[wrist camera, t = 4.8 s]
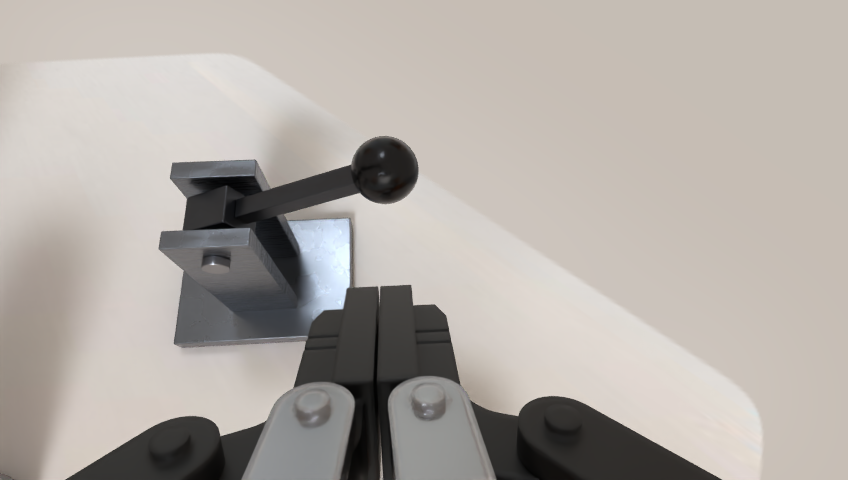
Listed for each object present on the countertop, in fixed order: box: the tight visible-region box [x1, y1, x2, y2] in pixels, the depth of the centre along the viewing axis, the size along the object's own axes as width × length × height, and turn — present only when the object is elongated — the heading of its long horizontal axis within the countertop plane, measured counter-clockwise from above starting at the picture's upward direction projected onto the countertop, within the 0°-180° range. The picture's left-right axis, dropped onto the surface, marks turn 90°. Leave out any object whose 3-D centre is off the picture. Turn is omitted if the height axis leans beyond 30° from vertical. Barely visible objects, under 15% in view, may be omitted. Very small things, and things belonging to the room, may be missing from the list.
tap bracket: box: [159, 160, 353, 348], centre depth 32 cm, size 12×9×13 cm
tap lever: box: [183, 136, 418, 234], centre depth 26 cm, size 13×3×3 cm, turn 94°
